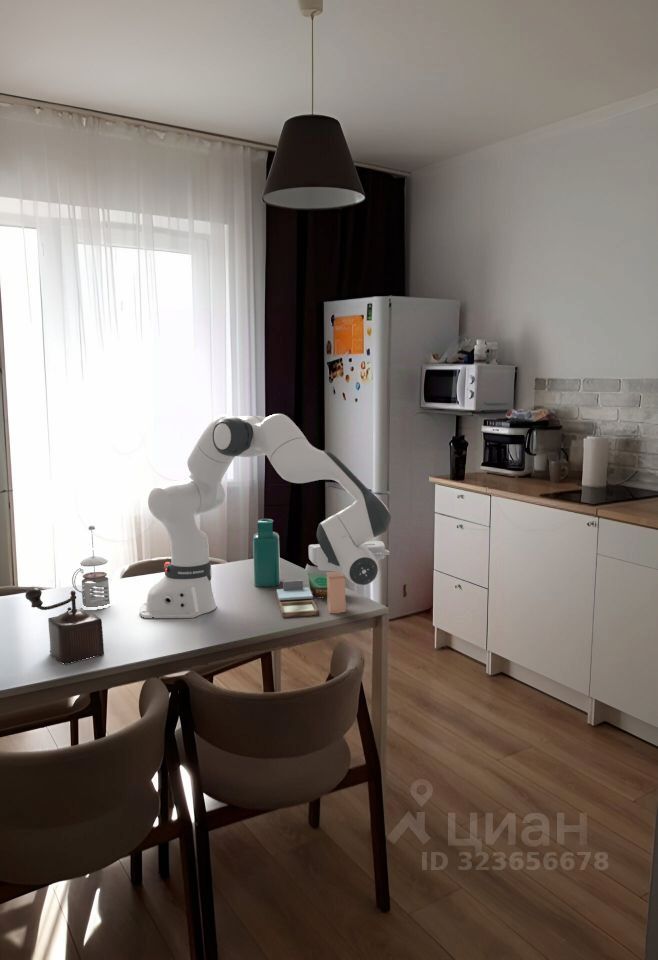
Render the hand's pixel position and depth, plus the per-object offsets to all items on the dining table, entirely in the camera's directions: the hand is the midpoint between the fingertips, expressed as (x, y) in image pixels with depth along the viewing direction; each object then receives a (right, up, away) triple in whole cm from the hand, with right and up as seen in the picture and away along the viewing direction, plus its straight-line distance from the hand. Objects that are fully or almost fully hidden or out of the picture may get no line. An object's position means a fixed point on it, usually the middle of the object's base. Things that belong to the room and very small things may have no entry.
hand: (342, 545), depth 201 cm
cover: (-14, -18, +26) cm, 34 cm away
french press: (-76, -21, +24) cm, 82 cm away
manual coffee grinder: (-69, -27, -17) cm, 76 cm away
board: (-13, -20, +20) cm, 32 cm away
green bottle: (-24, -17, +45) cm, 54 cm away
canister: (-1, -21, +15) cm, 25 cm away
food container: (-5, -19, +29) cm, 35 cm away
